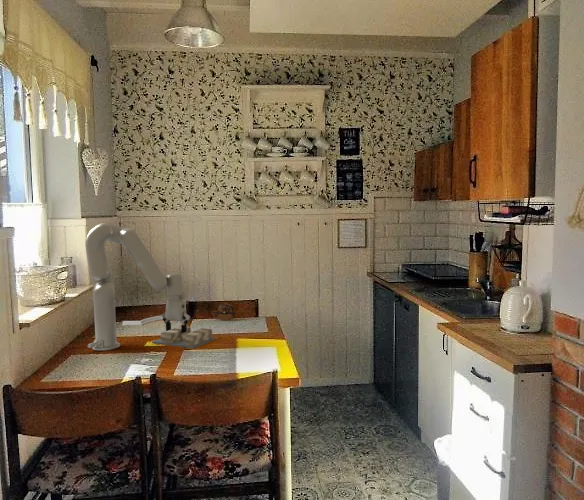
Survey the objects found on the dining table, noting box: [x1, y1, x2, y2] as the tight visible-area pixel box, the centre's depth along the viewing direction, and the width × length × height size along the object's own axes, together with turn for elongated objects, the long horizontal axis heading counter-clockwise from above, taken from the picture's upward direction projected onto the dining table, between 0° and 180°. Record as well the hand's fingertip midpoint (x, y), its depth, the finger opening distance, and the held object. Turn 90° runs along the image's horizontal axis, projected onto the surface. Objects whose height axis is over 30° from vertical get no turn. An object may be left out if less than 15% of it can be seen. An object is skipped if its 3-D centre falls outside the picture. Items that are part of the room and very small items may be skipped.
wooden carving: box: [210, 302, 238, 321], centre depth 296 cm, size 16×5×10 cm, turn 77°
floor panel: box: [151, 336, 216, 349], centre depth 249 cm, size 18×25×1 cm
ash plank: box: [160, 325, 192, 343], centre depth 251 cm, size 16×7×4 cm, turn 155°
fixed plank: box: [182, 327, 213, 346], centre depth 245 cm, size 16×6×4 cm, turn 155°
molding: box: [121, 315, 166, 327], centre depth 300 cm, size 42×12×3 cm, turn 134°
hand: (176, 331), depth 251 cm, fingers open, 9 cm apart
